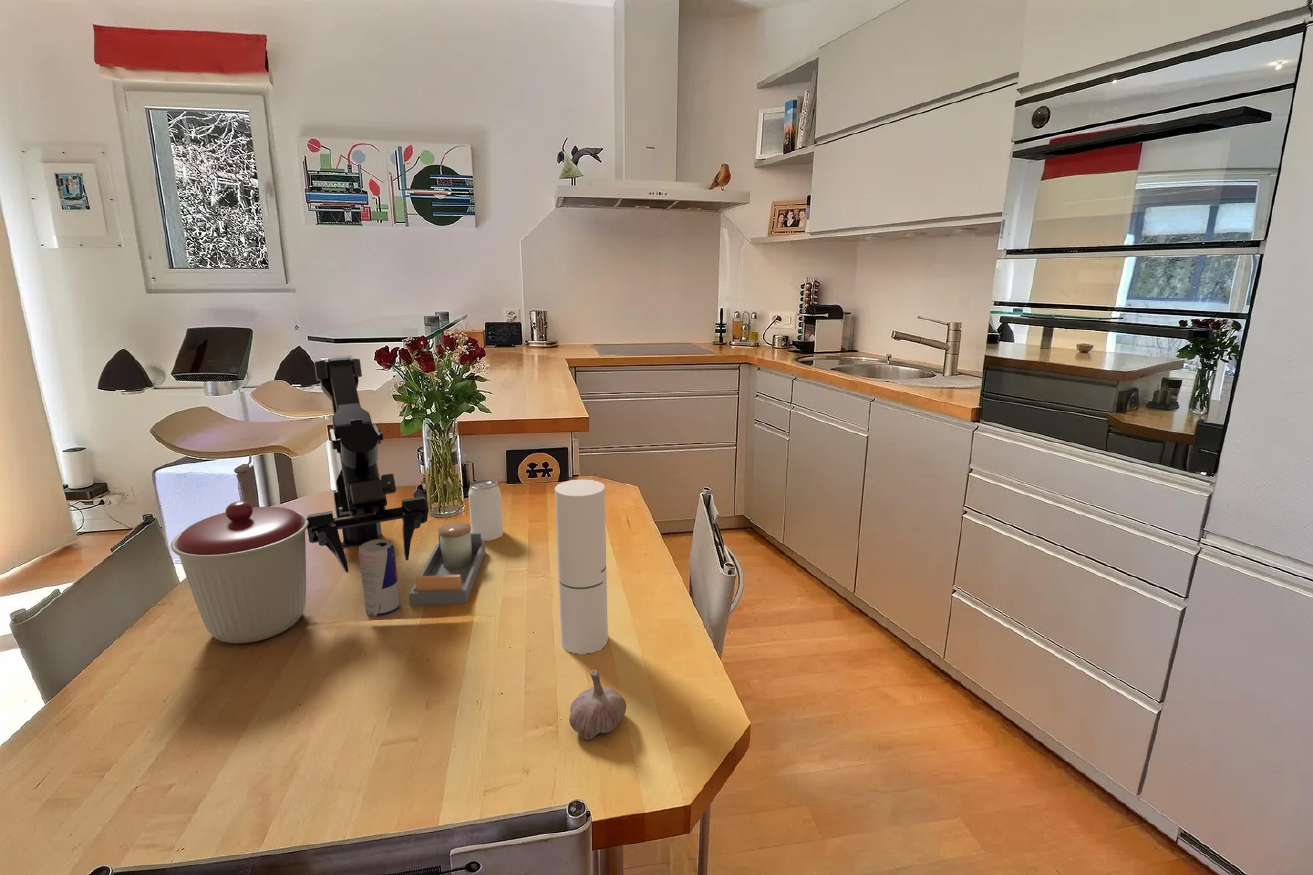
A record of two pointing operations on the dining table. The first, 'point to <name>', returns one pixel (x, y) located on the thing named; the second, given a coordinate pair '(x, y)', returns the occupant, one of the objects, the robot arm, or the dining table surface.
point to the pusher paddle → (438, 583)
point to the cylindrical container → (582, 565)
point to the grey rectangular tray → (436, 568)
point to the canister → (246, 570)
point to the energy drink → (379, 577)
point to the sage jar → (456, 545)
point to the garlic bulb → (596, 710)
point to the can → (486, 509)
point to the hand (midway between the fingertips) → (377, 565)
